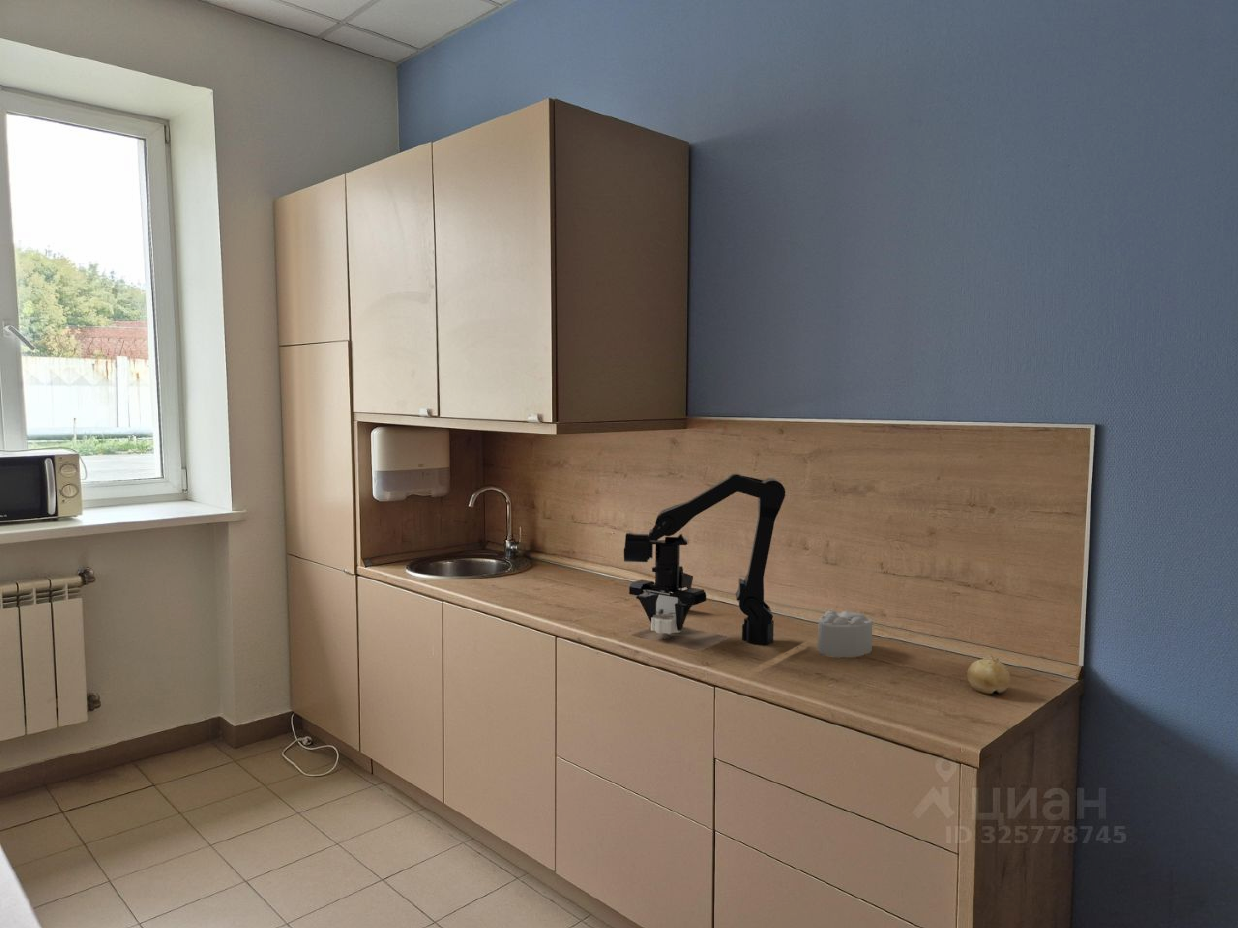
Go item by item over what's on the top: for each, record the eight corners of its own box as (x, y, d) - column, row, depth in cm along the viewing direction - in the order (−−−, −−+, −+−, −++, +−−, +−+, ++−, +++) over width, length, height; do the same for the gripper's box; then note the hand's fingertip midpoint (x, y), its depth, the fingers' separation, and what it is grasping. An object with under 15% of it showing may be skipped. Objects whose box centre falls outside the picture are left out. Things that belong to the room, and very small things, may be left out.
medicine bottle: (678, 616, 227) (678, 572, 226) (651, 615, 228) (652, 571, 227) (681, 610, 234) (682, 567, 233) (655, 608, 235) (656, 565, 234)
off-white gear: (670, 635, 198) (670, 622, 198) (645, 630, 202) (645, 617, 202) (687, 629, 204) (687, 616, 203) (662, 624, 208) (662, 612, 208)
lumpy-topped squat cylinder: (877, 650, 198) (879, 614, 197) (843, 661, 190) (844, 623, 189) (840, 640, 206) (841, 605, 205) (806, 650, 198) (807, 613, 197)
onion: (1010, 700, 166) (1011, 664, 165) (966, 694, 169) (967, 659, 169) (1008, 687, 173) (1010, 653, 173) (966, 682, 176) (968, 648, 176)
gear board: (731, 641, 204) (732, 620, 204) (701, 654, 193) (701, 633, 193) (662, 627, 216) (663, 607, 216) (630, 639, 205) (630, 618, 205)
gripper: (718, 562, 202) (717, 627, 204) (654, 553, 214) (653, 614, 215) (693, 569, 194) (692, 637, 195) (627, 559, 205) (627, 623, 206)
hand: (666, 627), depth 203 cm, fingers closed on off-white gear, 7 cm apart
